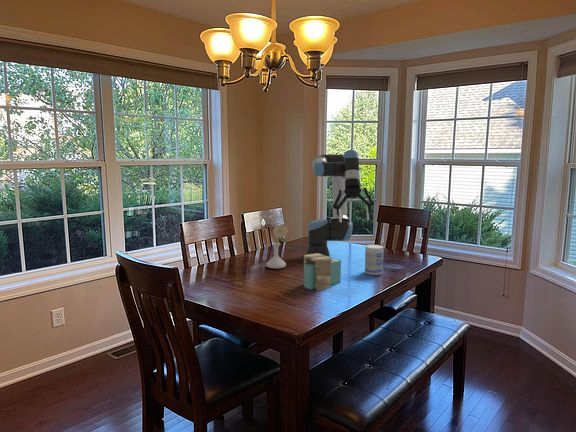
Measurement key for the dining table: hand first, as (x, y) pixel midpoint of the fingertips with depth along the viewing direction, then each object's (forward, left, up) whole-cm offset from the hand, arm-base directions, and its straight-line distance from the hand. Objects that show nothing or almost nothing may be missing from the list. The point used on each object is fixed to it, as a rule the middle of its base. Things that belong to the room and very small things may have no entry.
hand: (354, 221), depth 205 cm
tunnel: (-4, -20, -31) cm, 37 cm away
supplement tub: (-5, +20, -31) cm, 37 cm away
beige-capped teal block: (-4, -16, -30) cm, 35 cm away
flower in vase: (-43, -17, -31) cm, 56 cm away
